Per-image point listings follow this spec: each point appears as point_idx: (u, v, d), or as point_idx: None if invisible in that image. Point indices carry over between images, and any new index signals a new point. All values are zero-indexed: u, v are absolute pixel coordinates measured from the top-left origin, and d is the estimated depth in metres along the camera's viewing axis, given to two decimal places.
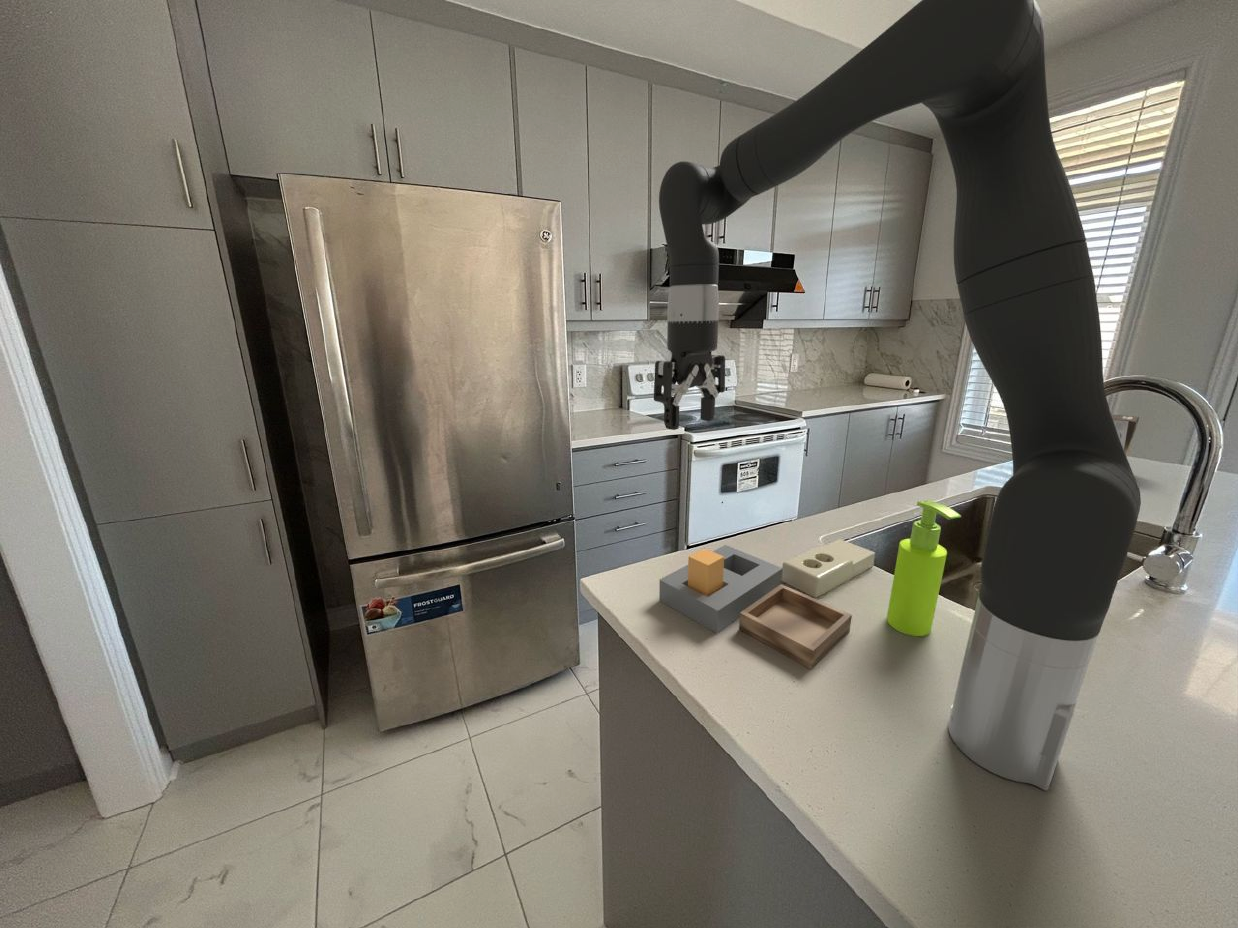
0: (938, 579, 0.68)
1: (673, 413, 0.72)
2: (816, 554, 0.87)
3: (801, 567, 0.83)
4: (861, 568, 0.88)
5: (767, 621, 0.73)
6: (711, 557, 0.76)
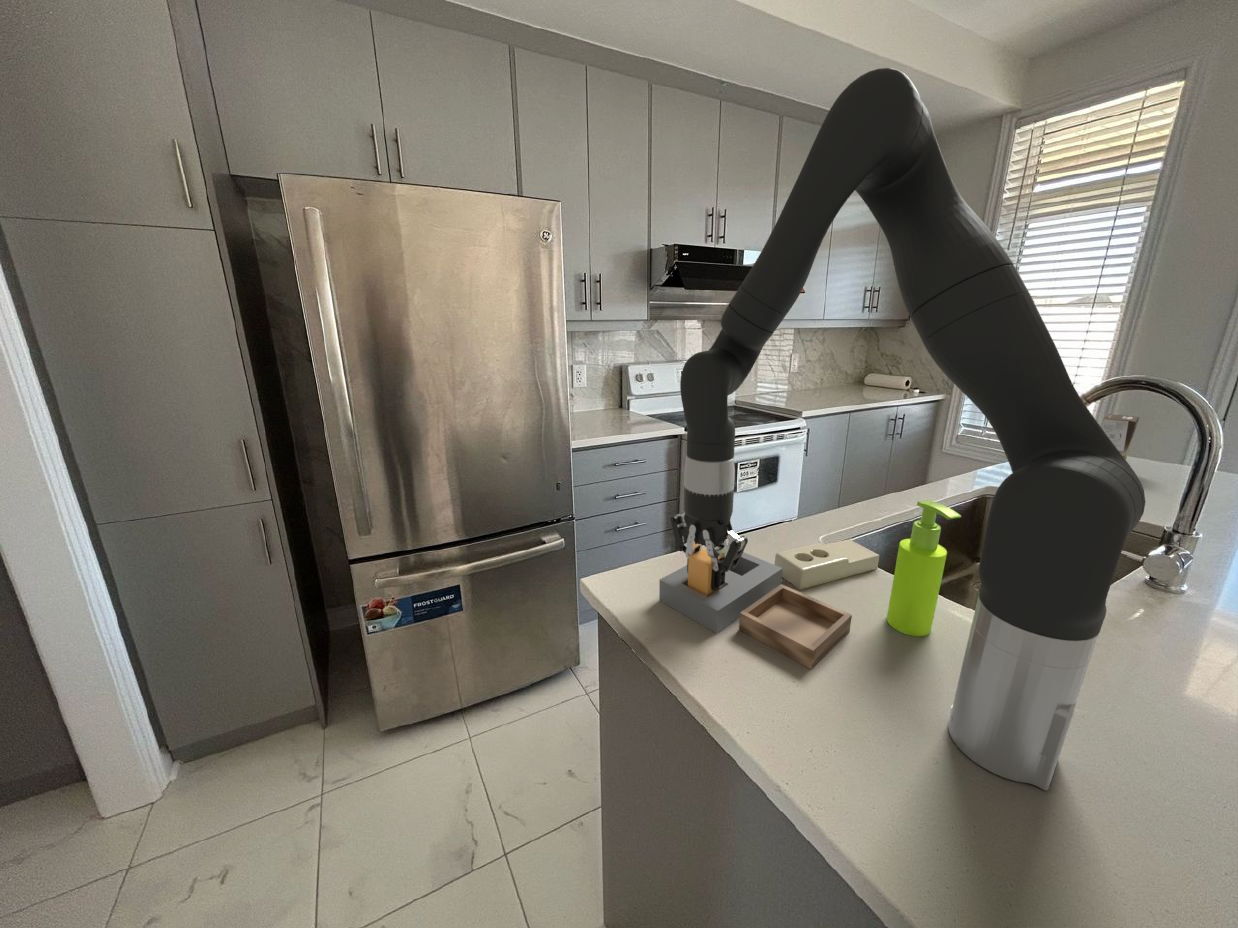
0: (938, 579, 0.68)
1: None
2: (813, 549, 0.89)
3: (791, 559, 0.86)
4: (860, 568, 0.88)
5: (767, 621, 0.73)
6: None
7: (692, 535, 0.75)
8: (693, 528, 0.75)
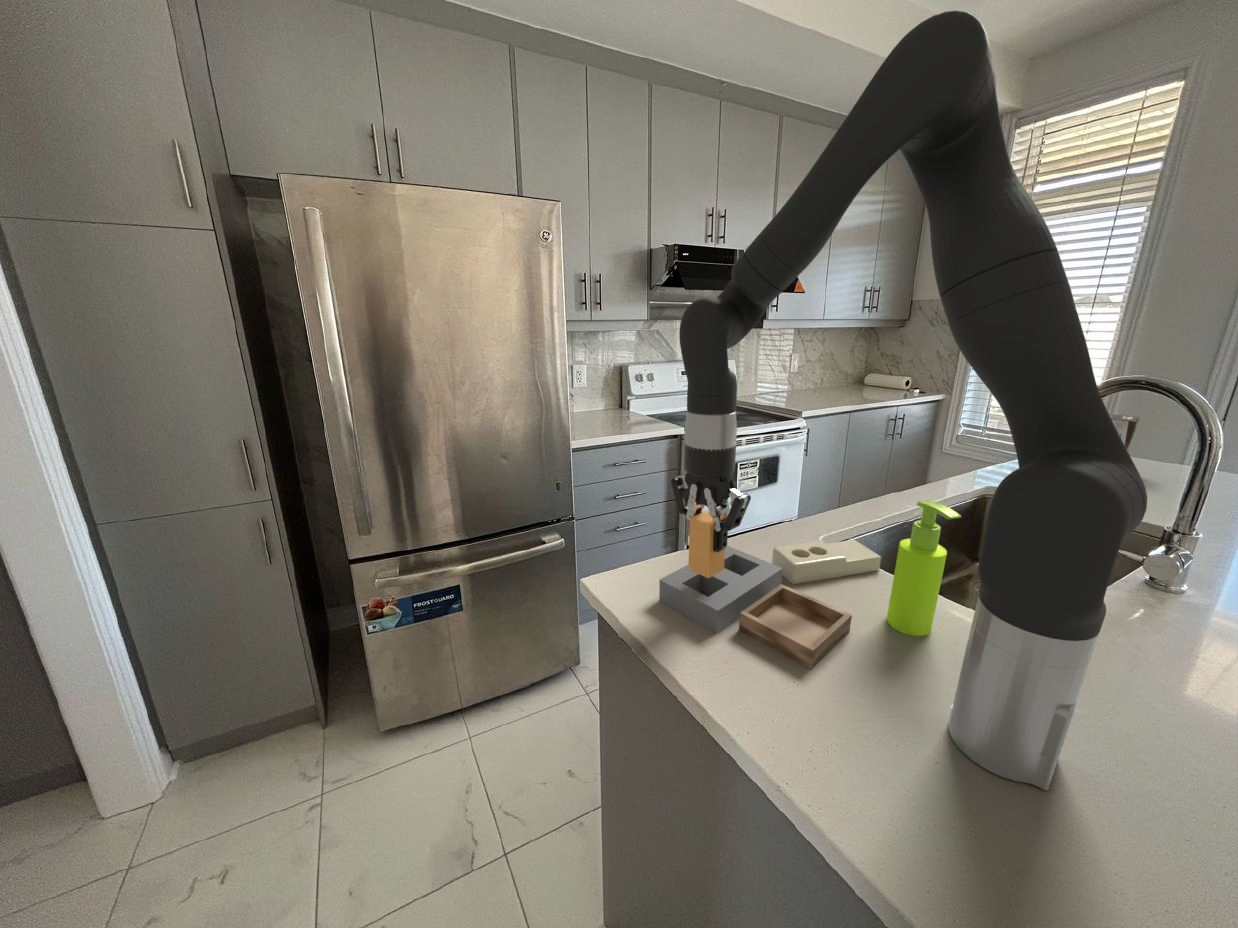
0: (938, 579, 0.68)
1: None
2: (812, 547, 0.90)
3: (786, 554, 0.87)
4: (860, 568, 0.87)
5: (767, 621, 0.73)
6: None
7: (693, 495, 0.73)
8: (694, 487, 0.72)
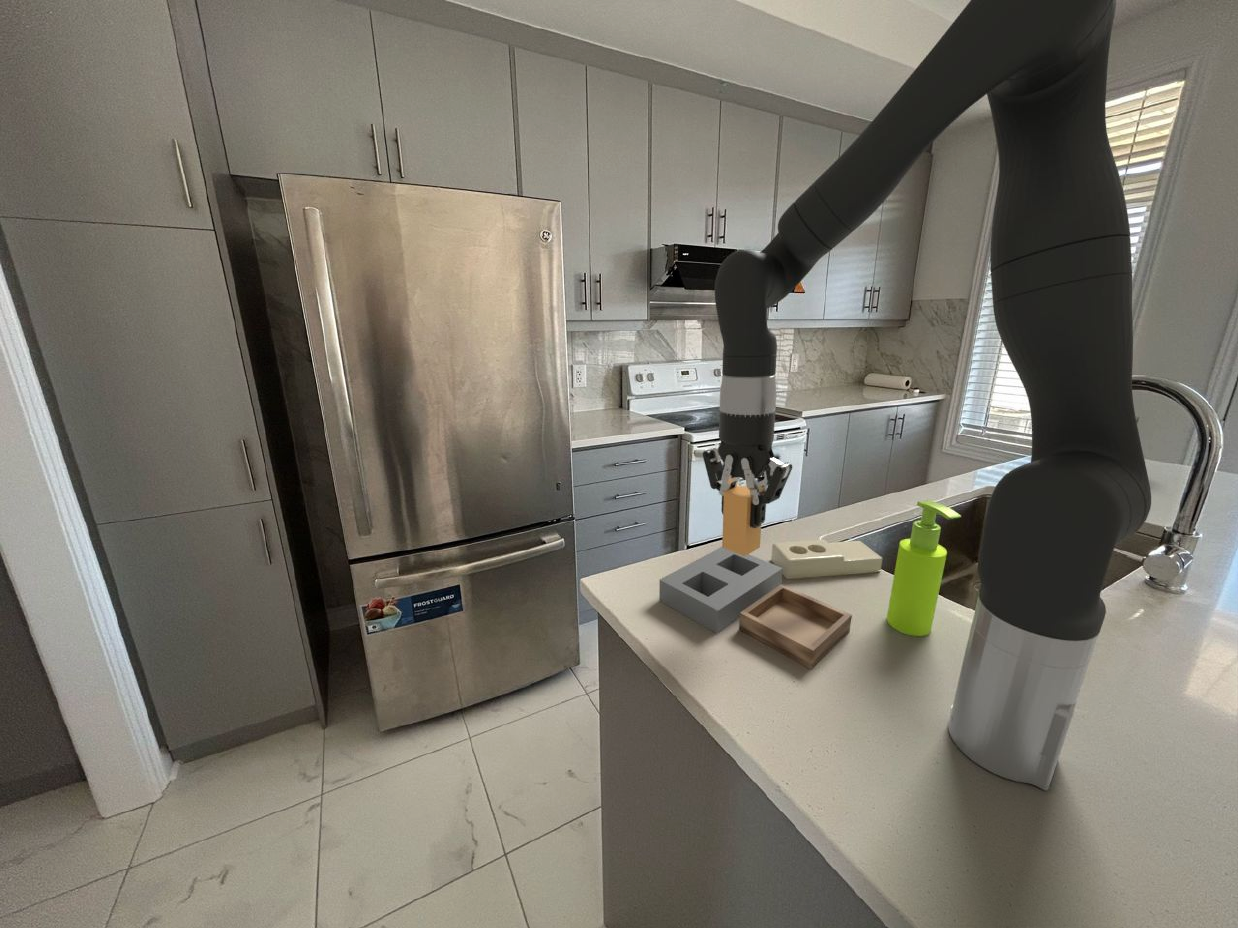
0: (938, 579, 0.68)
1: None
2: (813, 545, 0.91)
3: (783, 550, 0.89)
4: (859, 569, 0.87)
5: (767, 621, 0.73)
6: (748, 492, 0.70)
7: (728, 467, 0.69)
8: (730, 459, 0.68)
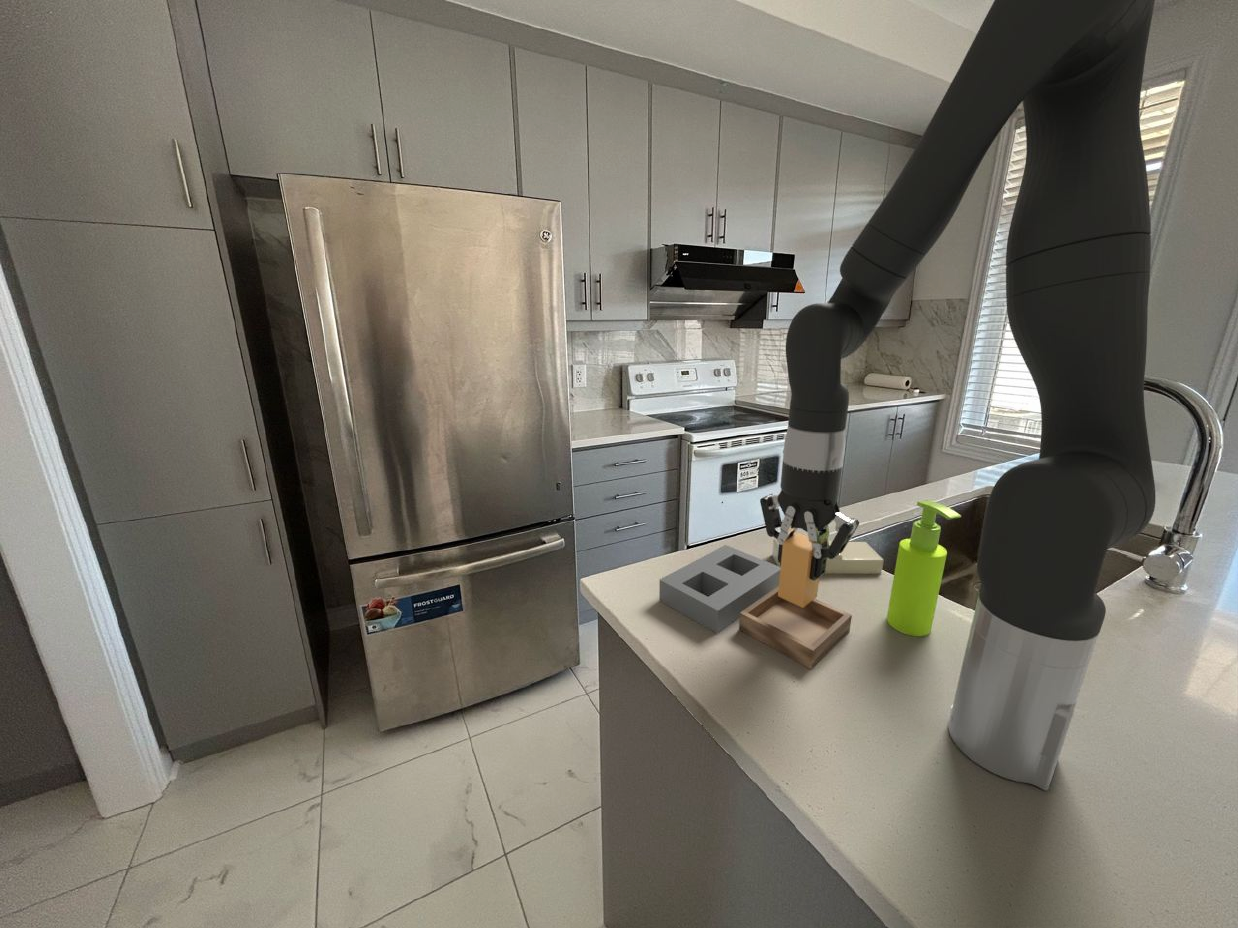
0: (938, 579, 0.68)
1: None
2: None
3: None
4: (858, 569, 0.87)
5: (767, 621, 0.73)
6: (809, 542, 0.68)
7: (789, 518, 0.67)
8: (791, 510, 0.66)
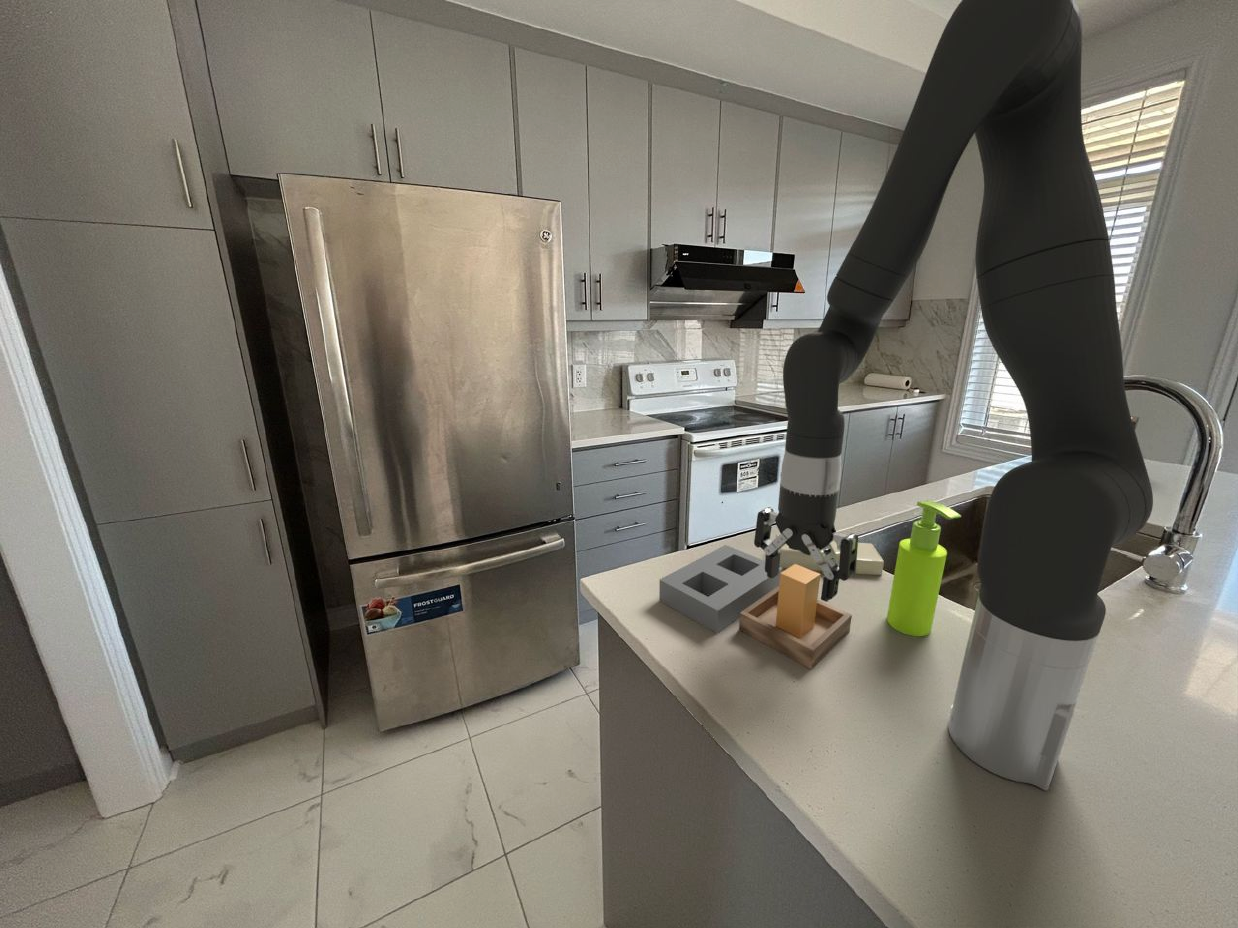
0: (938, 579, 0.68)
1: None
2: None
3: None
4: (857, 569, 0.87)
5: (767, 621, 0.73)
6: (805, 574, 0.69)
7: (784, 537, 0.68)
8: (789, 532, 0.67)
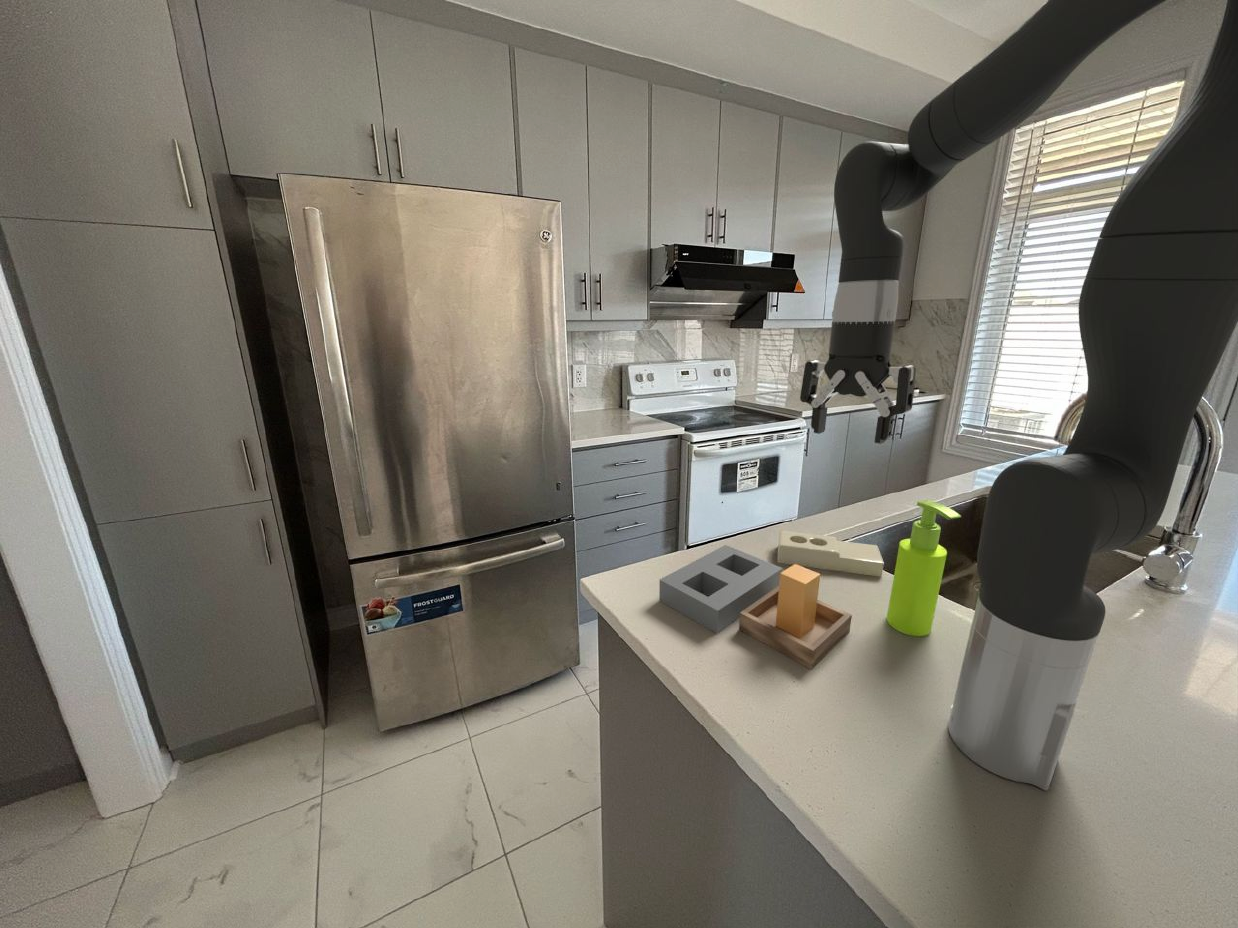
0: (938, 579, 0.68)
1: None
2: (818, 538, 0.93)
3: (783, 537, 0.94)
4: (856, 568, 0.87)
5: (767, 621, 0.73)
6: (805, 574, 0.69)
7: (834, 382, 0.66)
8: (841, 374, 0.65)
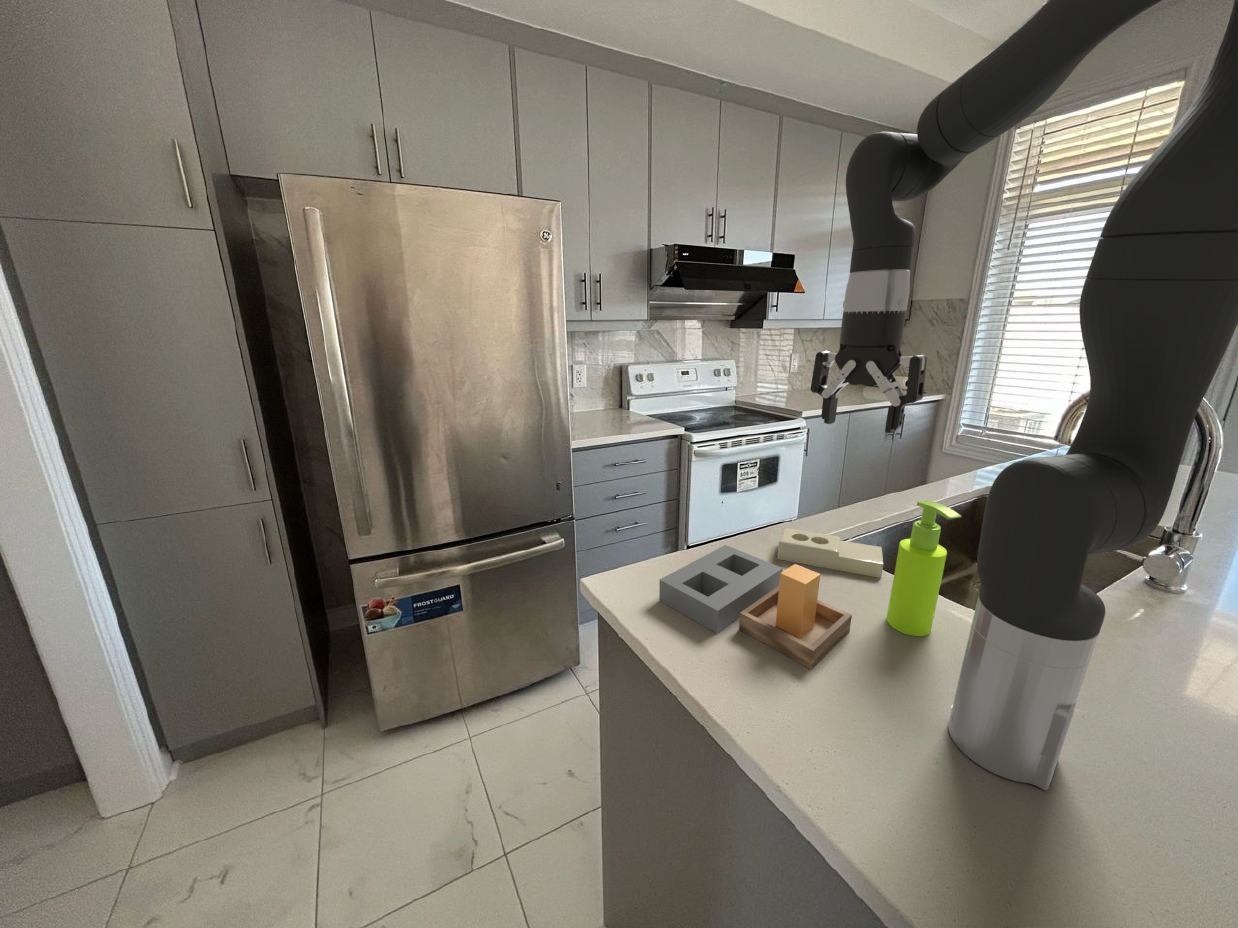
0: (938, 579, 0.68)
1: None
2: (820, 537, 0.94)
3: (785, 534, 0.95)
4: (855, 568, 0.88)
5: (767, 621, 0.73)
6: (805, 574, 0.69)
7: (845, 372, 0.67)
8: (852, 364, 0.65)
